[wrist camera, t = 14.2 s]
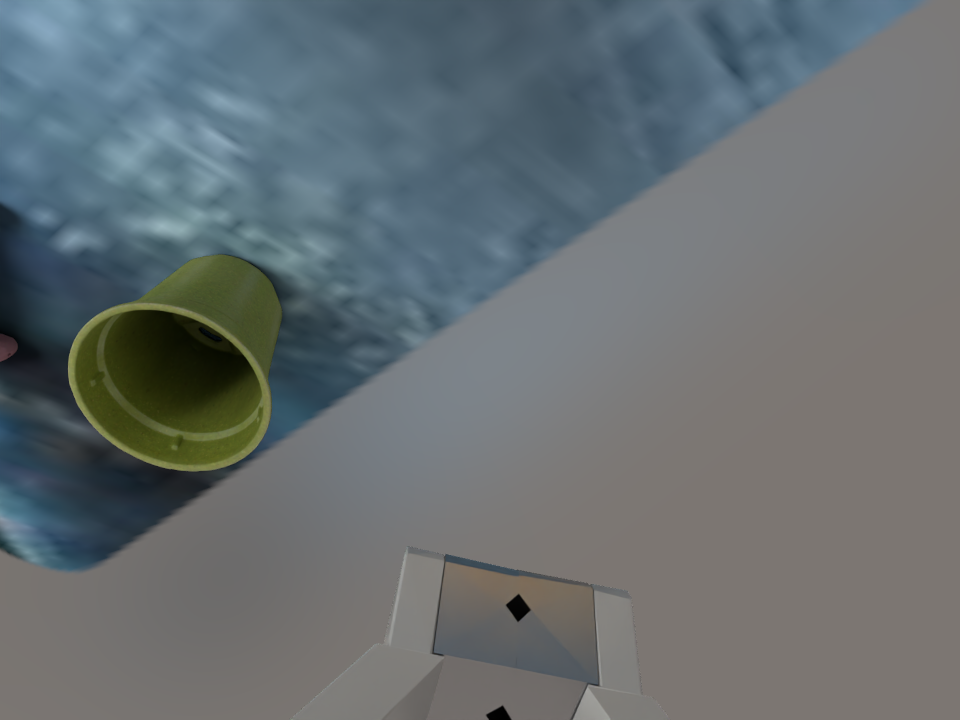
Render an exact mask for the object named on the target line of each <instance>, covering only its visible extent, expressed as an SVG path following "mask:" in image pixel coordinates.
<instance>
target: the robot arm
mask: <svg viewBox="0 0 960 720" xmlns="http://www.w3.org/2000/svg"><path fill="white" fill-rule="evenodd" d="M290 720H670V719H669V717H668V716H667V715H666V713H665V712H664V711H663V709H662V708H661V707H660V705H659V704H658V703H657V701H656V700H655V699H654V698H652V697H648V696H644V695H643V694H642V685H641V676H640V668H639V659H638V651H637V642H636V633H635V625H634V616H633V607H632V600H631V596H630V594H629V593H628V591H626V590H620V589H615V588H610V587H604V586H599V585H594V584H591V585H589V584H588V583H583V582H578V581H573V580H567V579H562V578H557V577H552V576H546V575H541V574H536V573H531V572H525V571H521V570H513V569H508V568H504V567H500V566H496V565H491V564H487V563H482V562H477V561H473V560H469V559H465V558H460V557H456V556H451V555H447V554H446V555H445V556H444V555H443V554H439V553H434V552H430V551H426V550H421V549H417V548H413V547H409V546H407V548H406V551H405V555H404V559H403V563H402V568H401V572H400V576H399V580H398V584H397V589H396V593H395V597H394V601H393V606H392V610H391V614H390V619H389V623H388V627H387V632H386V636H385V641H384V645H382V644H375V645H374V646H373V647H372V648H370V650H368V651H367V652H366V653H365V654H364V655H363V656H361V657H360V658H359V659H358V660H357V661H356V662H355V663H353V664H352V665H351V666H350V667H349V668H348V669H347V670H346V671H344V672H343V673H342V674H341V675H340V676H339V677H338V678H337V679H336V680H334V681H333V682H332V683H331V684H330V685H329V686H328V687H326V688H325V689H324V690H323V691H322V692H321V693H320V694H318V696H316V697H315V698H314V699H313V700H312V701H311V702H309V703H308V704H307V705H306V706H305V707H304V708H303V709H301V711H299V712H298V713H297V714H296V715H295V716H294V717H292V718H291V719H290Z"/></svg>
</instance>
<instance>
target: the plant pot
mask: <svg viewBox="0 0 960 720" xmlns="http://www.w3.org/2000/svg"><path fill="white" fill-rule="evenodd" d="M281 320H282V308H281V305H280V303H279V300H278V297H277V295H276V292H275V290H274V287H273V285H272V283H271V282H270V280H269V279H268V278H267V277H266V276H265V275H264V274H263V273H262V272H261V271H260V270H258V269H257V268H256V267H254V266H253V265H251V264H249V263H248V262H246V261H244V260H241V259H239V258H236V257H233V256H228V255H219V254H218V255H212V256H204V257H200V258H196V259H192V260H190V261H189V262H187V263H186V264H184V265H183V266H182V267H180V268H179V269H178V270H176V271H175V272H174V273H173V274H171V275H170V276H169V277H167V278H166V279H165V280H164V281H162V282H161V283H160V284H158V285H157V286H156V287H155V288H153V289H152V290H151V291H149V292H148V293H147V294H145V295H144V296H143V297H141V298H140V299H139V300H136V301H133V302H129V303H124V304H120V305H117V306H114V307H111V308H109V309H107V310H105V311H103V312H101V313H100V314H98V315H96V316H95V317H94V318H92V319H91V320H90V321H89V322H88V323H87V324H86V325H85V326H84V327H83V328H82V329H81V331H80V332H79V333H78V335H77V336H76V338H75V340H74V343H73V345H72V348H71V350H70V354H69V363H68V376H69V383H70V386H71V389H72V391H73V394H74V397H75V399H76V402H77V404H78V406H79V407H80V409H81V411H82V412H83V414H84V415H85V416H86V418H87V419H88V421H89V422H90V423H91V424H92V426H93V427H94V428H95V429H97V430H98V432H99V433H100V434H101V435H103V436H104V437H105V438H106V439H107V440H109V441H110V442H111V443H112V444H114V445H115V446H117V447H118V448H119V449H121V450H123V451H125V452H127V453H129V454H131V455H132V456H134V457H136V458H138V459H141V460H143V461H145V462H147V463H150V464H153V465H156V466H160V467H164V468H168V469H175V470H182V471H206V470H215V469H219V468H222V467H226V466H229V465H231V464H234V463H236V462H237V461H239V460H241V459H243V458H244V457H246V456H247V455H248V454H250V453H251V452H252V451H253V450H254V449H255V448H256V447H257V446H258V444H259V443H260V442H261V440H262V439H263V437H264V435H265V433H266V431H267V428H268V425H269V422H270V418H271V412H272V397H271V390H270V386H269V382H268V375H269V370H270V366H271V362H272V357H273V353H274V349H275V345H276V341H277V337H278V333H279V328H280V324H281ZM199 328H204V329H205V330H207V331H209V332H210V333H211V334H213V335H215V336H218V337H220V338H221V339H222V341H220V342H218V341H214V340H212V339H210V338H208V337H206V336H205V335H203V334H202V333H201V332H200V330H199Z"/></svg>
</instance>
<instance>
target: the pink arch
mask: <svg viewBox="0 0 960 720" xmlns="http://www.w3.org/2000/svg"><path fill="white" fill-rule="evenodd" d="M17 348H18V344H17V342H16V341H15V340H14V338H12V337H9V336H6V335H3V334H0V362H1V361H3V360H5V359H8V358H9V357H10V356H12V355H13V354H14V353H15V352H16V351H17Z"/></svg>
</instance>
